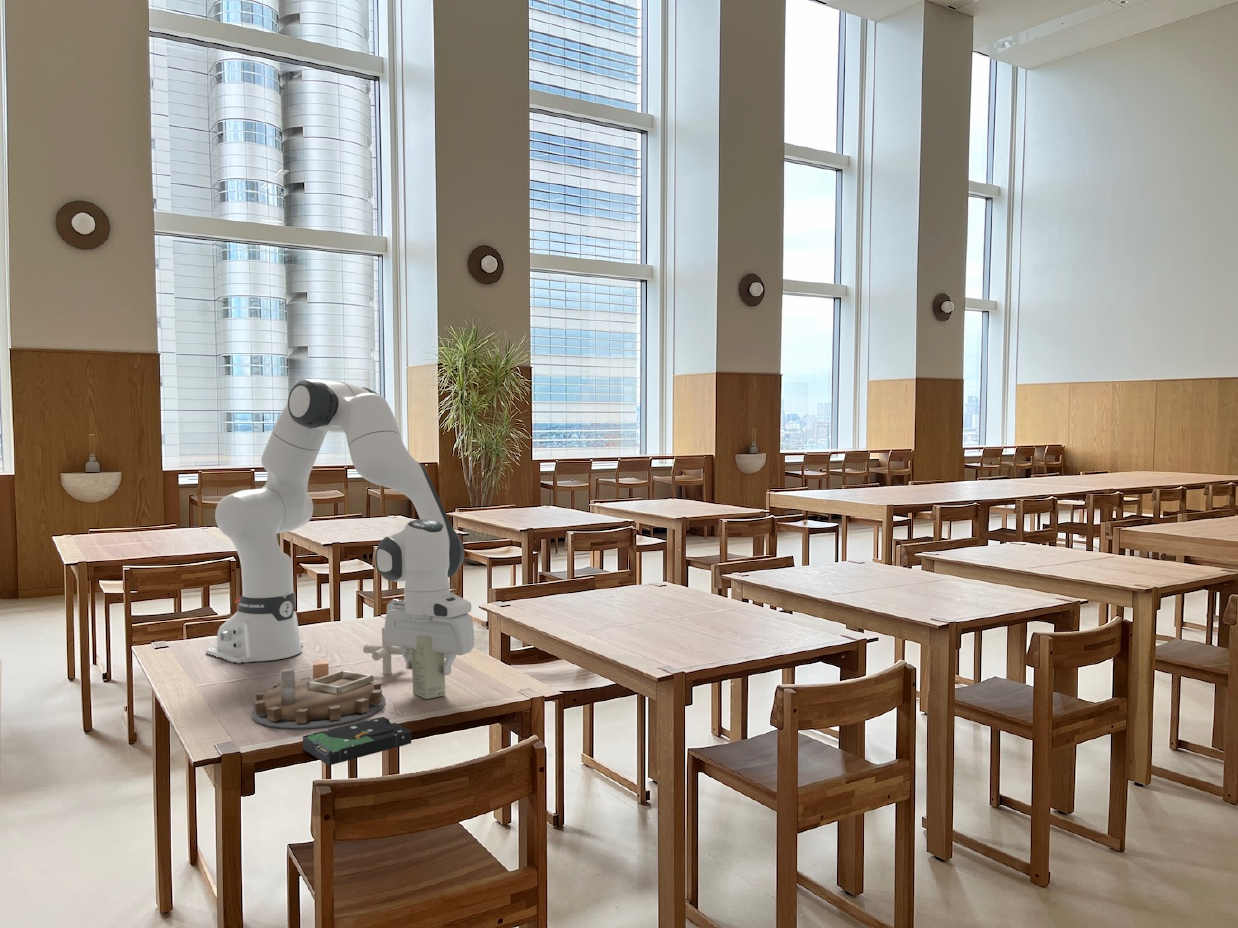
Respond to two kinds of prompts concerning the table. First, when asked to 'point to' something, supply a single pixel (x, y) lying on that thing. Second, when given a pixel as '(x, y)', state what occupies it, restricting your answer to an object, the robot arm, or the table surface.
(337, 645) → the table surface
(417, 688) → the skincare box
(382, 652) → the pipe connector
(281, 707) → the dial
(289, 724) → the dial base
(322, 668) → the orange rectangular block
